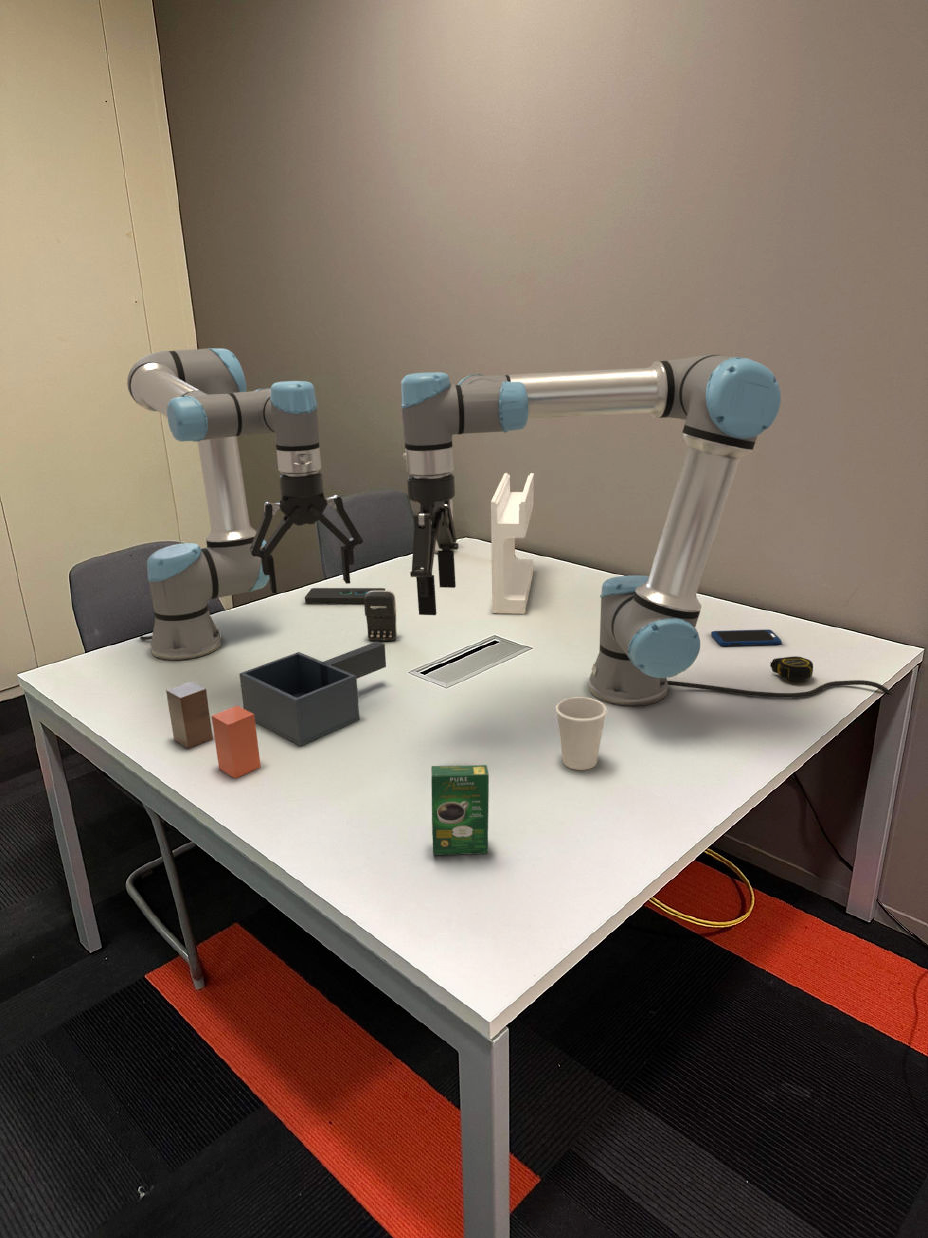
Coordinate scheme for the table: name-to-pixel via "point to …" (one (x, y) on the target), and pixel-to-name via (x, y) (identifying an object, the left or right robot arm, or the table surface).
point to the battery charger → (380, 615)
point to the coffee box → (460, 809)
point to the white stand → (510, 546)
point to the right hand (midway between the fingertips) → (438, 600)
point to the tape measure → (793, 668)
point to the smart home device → (338, 595)
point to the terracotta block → (236, 741)
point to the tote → (309, 692)
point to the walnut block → (189, 714)
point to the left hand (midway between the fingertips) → (310, 586)
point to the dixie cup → (580, 731)
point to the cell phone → (746, 637)
